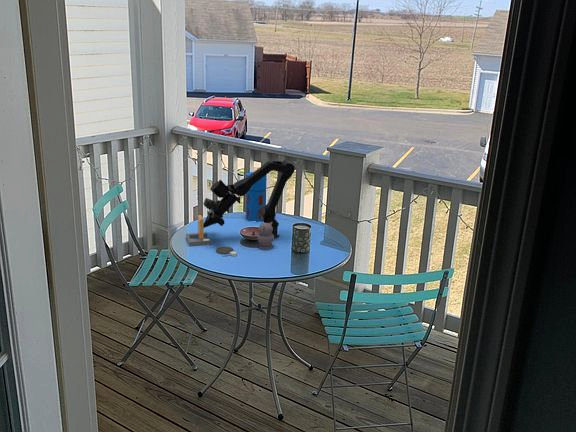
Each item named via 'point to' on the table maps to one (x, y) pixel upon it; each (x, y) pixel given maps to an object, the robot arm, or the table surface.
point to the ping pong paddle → (226, 251)
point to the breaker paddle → (200, 227)
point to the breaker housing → (197, 242)
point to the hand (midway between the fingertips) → (202, 227)
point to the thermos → (255, 199)
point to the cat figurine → (265, 236)
